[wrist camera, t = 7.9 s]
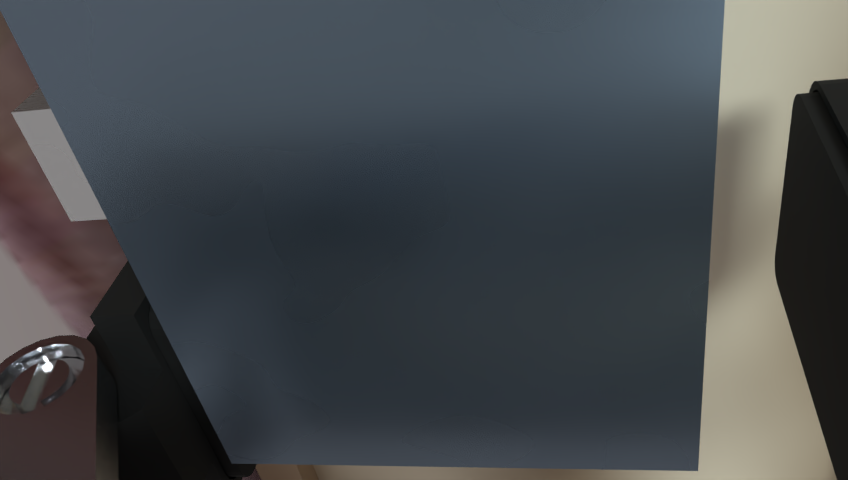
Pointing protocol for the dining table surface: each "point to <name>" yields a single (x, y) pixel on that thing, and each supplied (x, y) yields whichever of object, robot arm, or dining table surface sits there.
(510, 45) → the grey block
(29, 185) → the dining table surface
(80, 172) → the pivot stand
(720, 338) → the beam
